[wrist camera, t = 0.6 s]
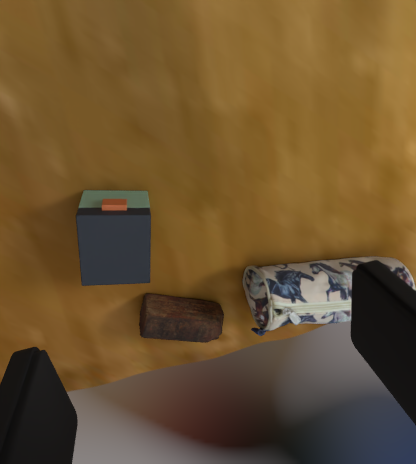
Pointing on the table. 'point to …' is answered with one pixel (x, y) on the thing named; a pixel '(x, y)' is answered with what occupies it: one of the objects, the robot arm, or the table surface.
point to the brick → (180, 319)
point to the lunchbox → (114, 237)
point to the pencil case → (307, 291)
